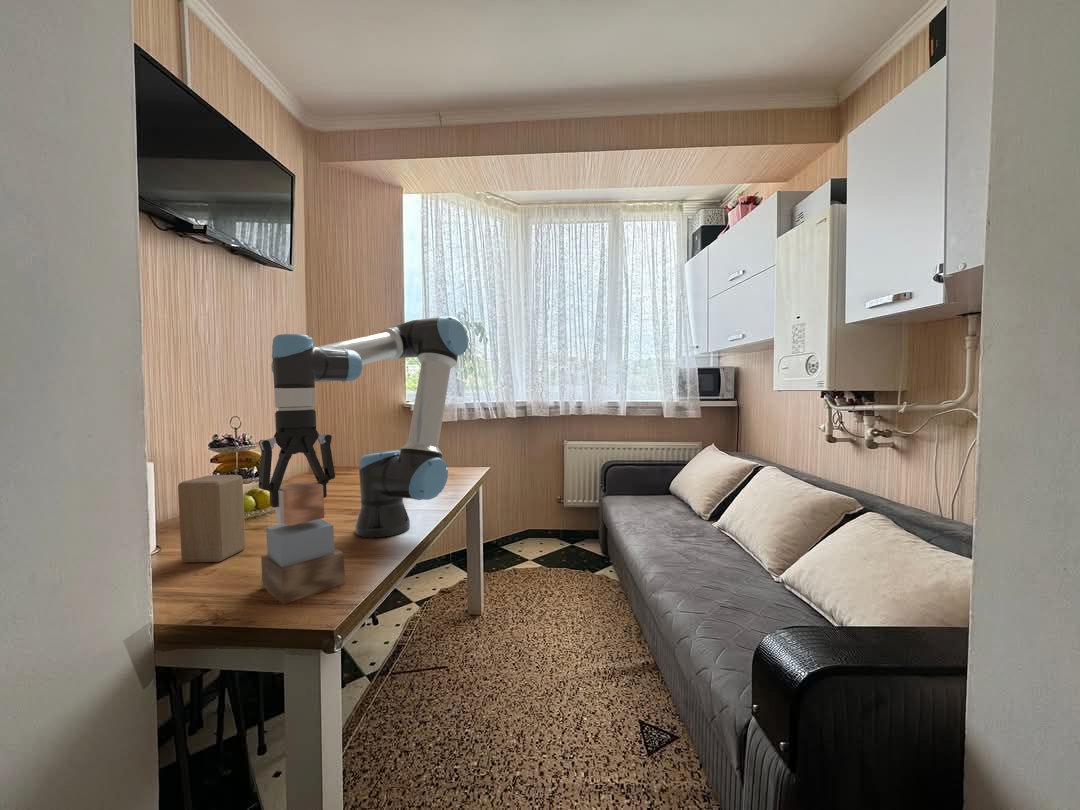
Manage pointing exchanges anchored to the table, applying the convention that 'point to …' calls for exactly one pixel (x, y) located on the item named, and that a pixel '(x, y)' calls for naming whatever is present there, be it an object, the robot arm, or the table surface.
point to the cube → (303, 502)
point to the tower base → (302, 576)
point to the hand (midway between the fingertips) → (300, 517)
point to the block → (211, 518)
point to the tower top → (299, 541)
